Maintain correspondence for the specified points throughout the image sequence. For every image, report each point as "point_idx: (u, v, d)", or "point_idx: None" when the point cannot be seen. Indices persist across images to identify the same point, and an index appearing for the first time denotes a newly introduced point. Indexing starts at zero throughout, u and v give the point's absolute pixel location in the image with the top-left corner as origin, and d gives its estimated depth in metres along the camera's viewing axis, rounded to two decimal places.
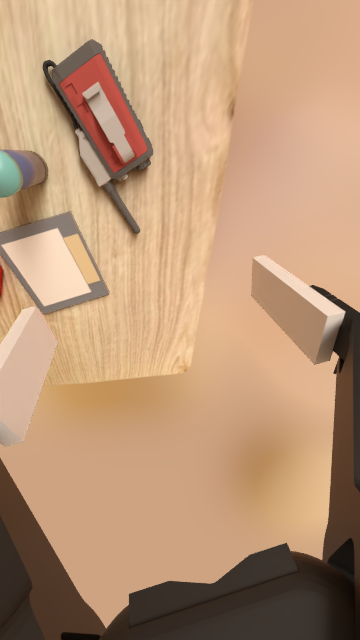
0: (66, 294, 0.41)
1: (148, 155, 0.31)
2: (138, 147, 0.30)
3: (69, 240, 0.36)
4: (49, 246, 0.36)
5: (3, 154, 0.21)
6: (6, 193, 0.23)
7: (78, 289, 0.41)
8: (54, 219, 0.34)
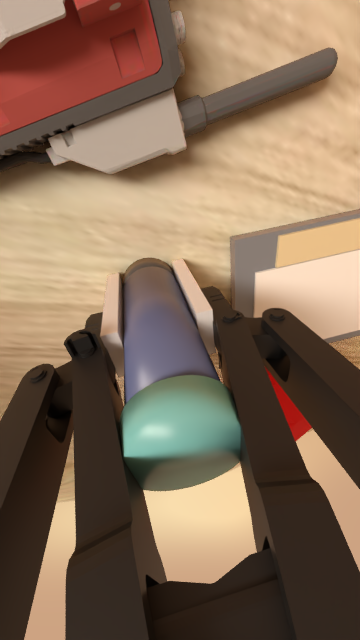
0: None
1: None
2: None
3: (285, 256, 0.16)
4: (280, 295, 0.18)
5: (138, 433, 0.06)
6: None
7: None
8: (239, 273, 0.17)
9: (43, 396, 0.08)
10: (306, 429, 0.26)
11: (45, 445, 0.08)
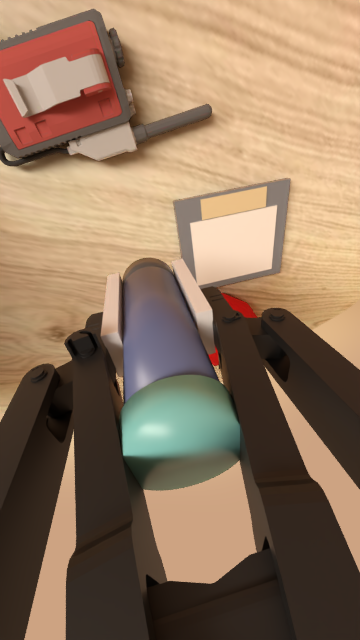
0: (268, 239, 0.31)
1: (101, 23, 0.17)
2: (88, 42, 0.18)
3: (206, 213, 0.28)
4: (208, 239, 0.30)
5: (137, 432, 0.06)
6: None
7: (267, 222, 0.30)
8: (180, 223, 0.28)
9: (44, 396, 0.08)
10: None
11: (45, 445, 0.08)
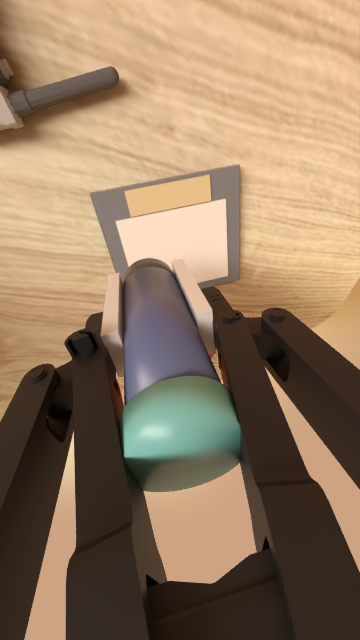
0: (219, 240, 0.26)
1: None
2: None
3: (134, 208, 0.22)
4: (142, 240, 0.24)
5: (138, 434, 0.06)
6: None
7: (216, 219, 0.25)
8: (102, 221, 0.23)
9: (43, 396, 0.08)
10: None
11: (45, 445, 0.08)
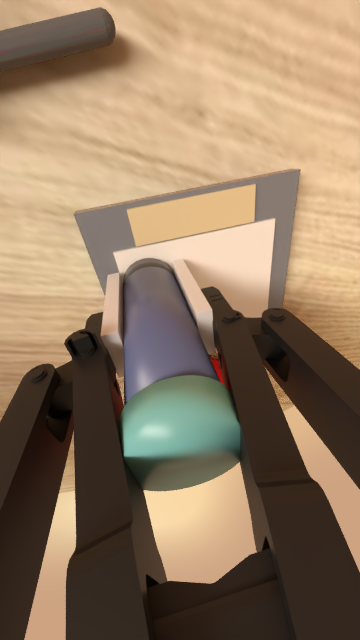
0: (259, 275, 0.18)
1: None
2: None
3: (142, 234, 0.15)
4: None
5: (138, 433, 0.06)
6: None
7: (258, 247, 0.17)
8: (94, 253, 0.15)
9: (43, 396, 0.08)
10: None
11: (45, 445, 0.08)
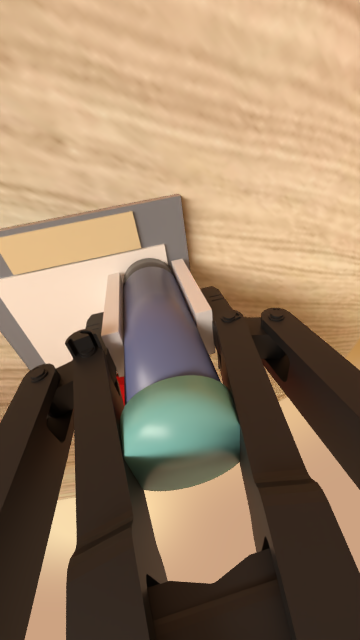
0: None
1: None
2: None
3: (16, 262, 0.14)
4: (40, 305, 0.16)
5: (138, 433, 0.06)
6: None
7: None
8: None
9: (44, 396, 0.08)
10: None
11: (46, 445, 0.08)
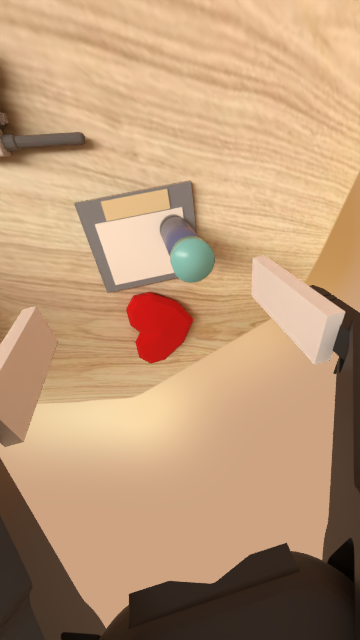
0: None
1: None
2: None
3: (109, 214, 0.29)
4: (116, 239, 0.31)
5: (179, 246, 0.21)
6: (211, 257, 0.21)
7: None
8: (84, 224, 0.29)
9: None
10: (176, 342, 0.39)
11: None
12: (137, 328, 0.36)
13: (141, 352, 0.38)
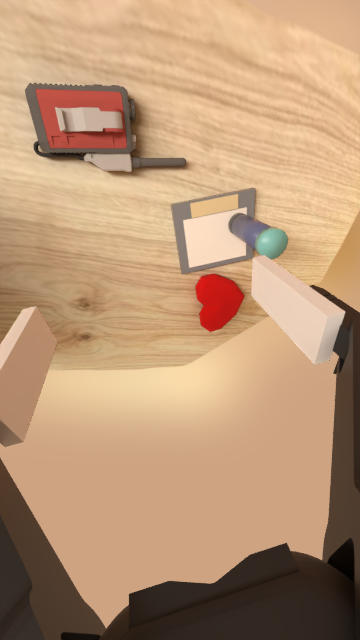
0: None
1: (125, 96, 0.28)
2: (115, 103, 0.28)
3: (194, 213, 0.39)
4: (196, 232, 0.41)
5: (266, 233, 0.31)
6: (285, 241, 0.32)
7: None
8: (175, 220, 0.39)
9: None
10: (231, 313, 0.49)
11: None
12: (203, 302, 0.47)
13: (205, 322, 0.48)
